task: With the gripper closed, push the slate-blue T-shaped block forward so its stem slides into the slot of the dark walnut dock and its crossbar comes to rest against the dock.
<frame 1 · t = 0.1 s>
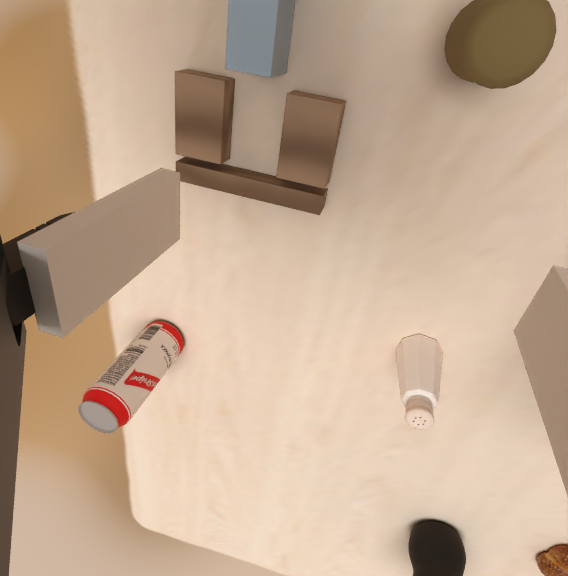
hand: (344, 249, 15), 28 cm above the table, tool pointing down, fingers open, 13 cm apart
cork: (484, 40, 33), on the table
dock: (260, 125, 41), on the table
salt shaker: (419, 350, 50), on the table
beer can: (167, 334, 60), on the table
cola bottle: (435, 530, 67), on the table
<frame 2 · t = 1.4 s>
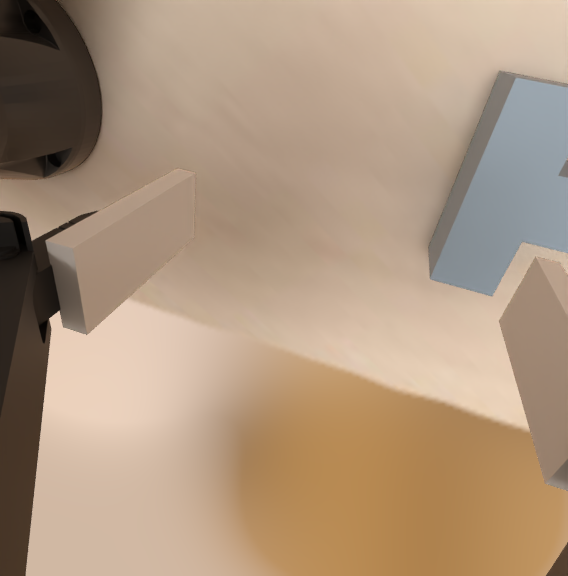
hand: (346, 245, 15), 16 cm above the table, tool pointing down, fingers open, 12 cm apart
tee block: (490, 176, 27), on the table
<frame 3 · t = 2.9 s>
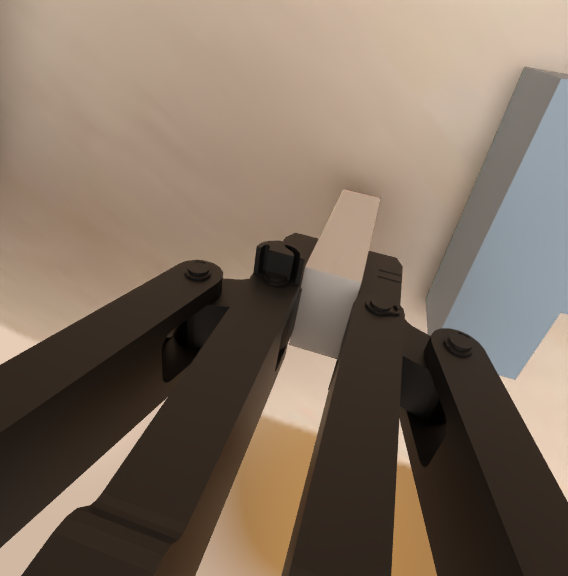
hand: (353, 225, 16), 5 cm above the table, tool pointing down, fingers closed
tee block: (508, 211, 20), on the table
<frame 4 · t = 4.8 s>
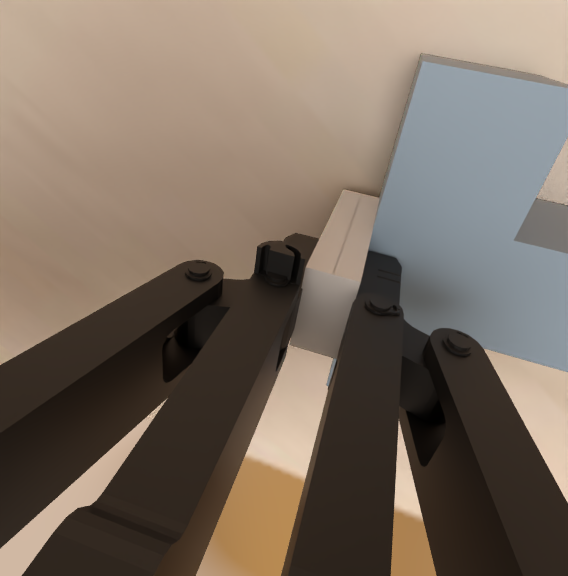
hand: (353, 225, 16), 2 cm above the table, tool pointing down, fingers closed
tee block: (421, 221, 17), on the table, touching gripper
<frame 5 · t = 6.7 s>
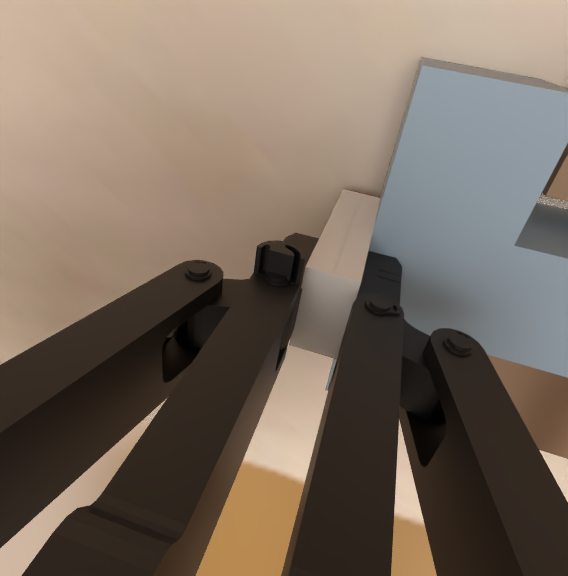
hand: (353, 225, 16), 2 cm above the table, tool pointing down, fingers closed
tee block: (421, 225, 17), on the table, touching gripper
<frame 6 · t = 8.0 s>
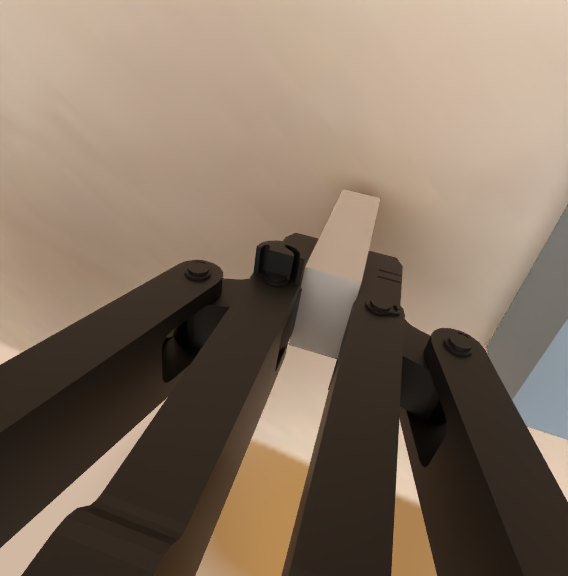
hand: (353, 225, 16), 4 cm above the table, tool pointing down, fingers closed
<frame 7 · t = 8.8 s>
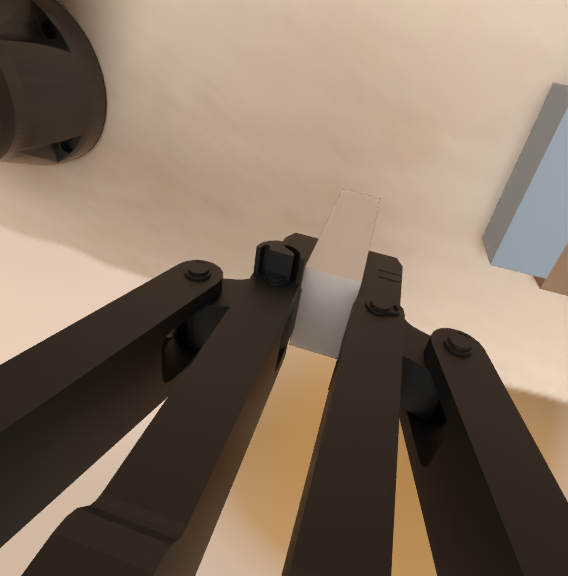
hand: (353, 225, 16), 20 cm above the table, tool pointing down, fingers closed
tee block: (541, 174, 31), on the table
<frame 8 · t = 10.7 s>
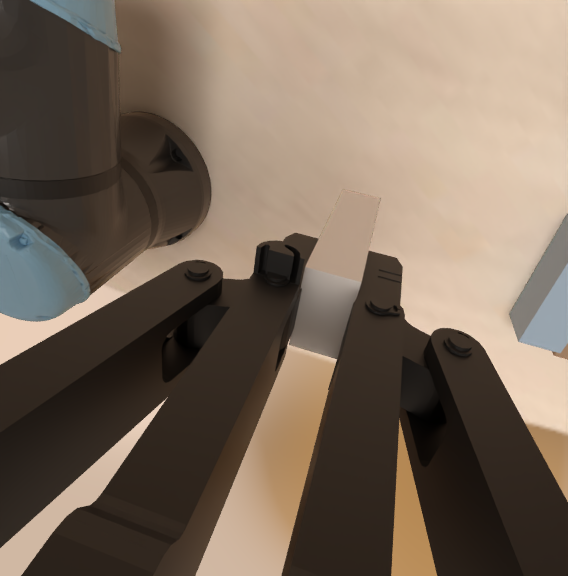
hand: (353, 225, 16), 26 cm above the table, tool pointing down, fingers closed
tee block: (556, 272, 41), on the table
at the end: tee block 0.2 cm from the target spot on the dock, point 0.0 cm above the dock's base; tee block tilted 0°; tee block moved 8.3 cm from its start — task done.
